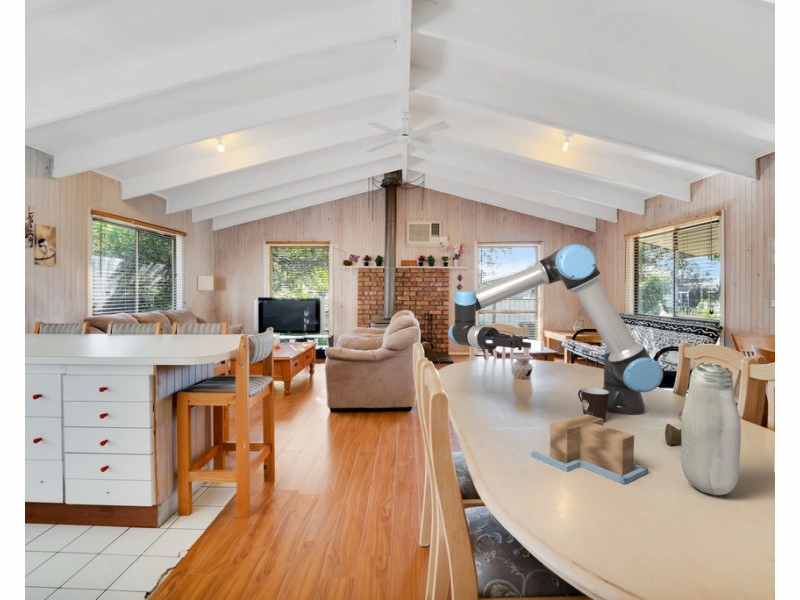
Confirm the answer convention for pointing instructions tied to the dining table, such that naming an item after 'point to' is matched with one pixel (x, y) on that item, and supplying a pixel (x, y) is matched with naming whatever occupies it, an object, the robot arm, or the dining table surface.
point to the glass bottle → (711, 431)
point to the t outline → (593, 468)
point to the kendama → (672, 435)
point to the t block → (592, 444)
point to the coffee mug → (594, 401)
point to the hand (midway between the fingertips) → (542, 346)
